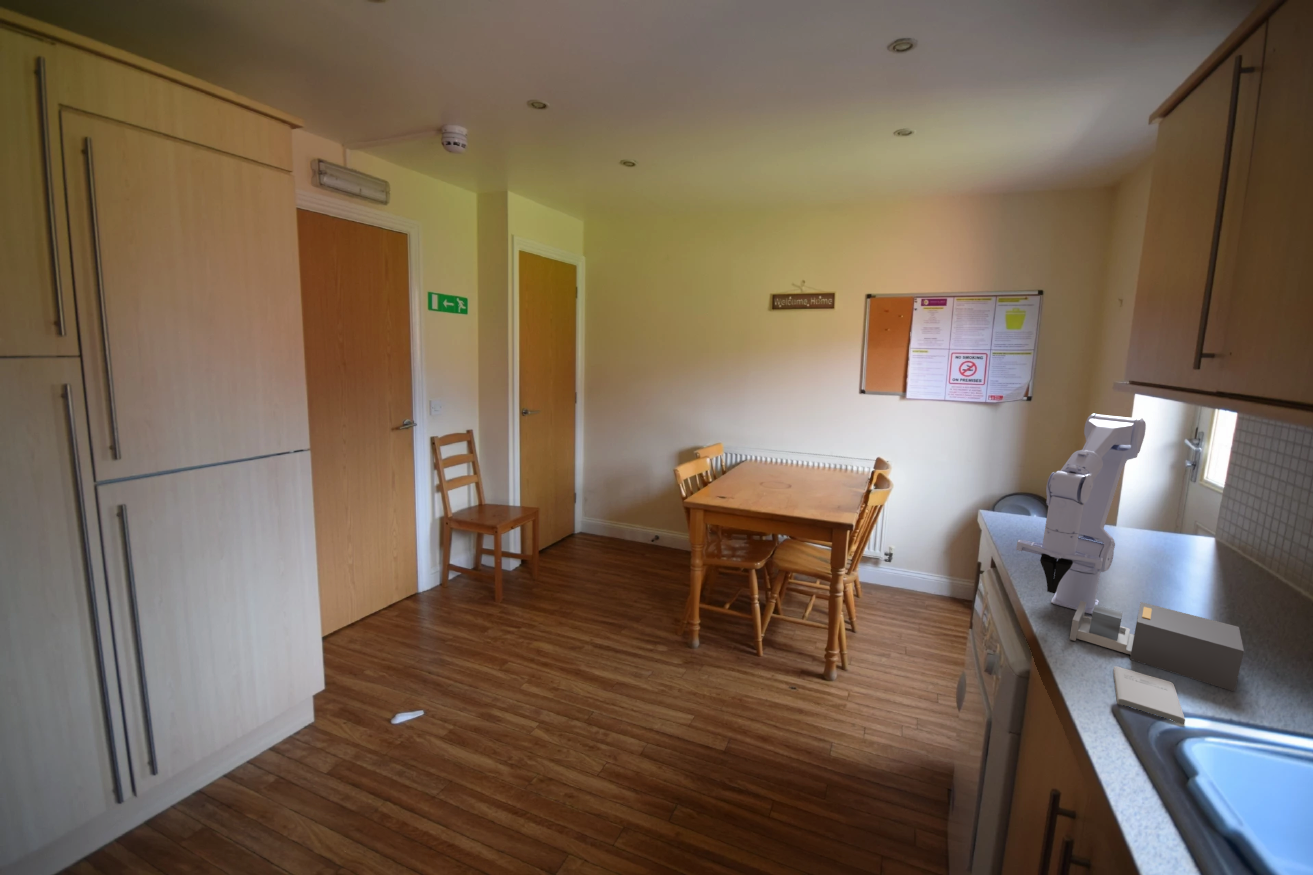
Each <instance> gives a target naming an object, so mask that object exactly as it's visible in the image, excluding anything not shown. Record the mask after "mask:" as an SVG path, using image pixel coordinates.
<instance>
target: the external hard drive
mask: <svg viewBox="0 0 1313 875" xmlns="http://www.w3.org/2000/svg"><path fill="white" fill-rule="evenodd" d="M1112 670H1113V680H1114V686H1115V694H1116V695H1115V696H1116V702H1117V705H1120V706H1123V705H1125V706H1124V707H1126V706H1130V707H1133V708H1136V709H1138V710H1137V711H1139V710H1142V711H1145V712H1149V713H1151V714H1150V715H1152V714H1156V715H1158V716H1162V717H1164V718H1163V719H1165V718H1167V719H1166V720H1168V719H1171V720H1173V721H1172V722H1174V721H1175V722H1174V723H1178V724H1181V725H1185V722H1186V718H1185V715H1184V713H1183V709H1182V705H1181V703H1180V699H1179V696H1178V694H1177V690H1176V687H1175V685H1174V684H1175V683H1173V682H1171V681H1169V680H1165V679H1162V678H1158V677H1154V676H1150V675H1148V674H1144V673H1141V672H1137V671H1134V670H1131V669H1127V668H1124V667H1120V666H1113V669H1112ZM1136 709H1135V710H1136ZM1142 711H1141V712H1142ZM1145 712H1144V713H1145ZM1149 713H1148V714H1149ZM1158 716H1157V717H1158ZM1171 720H1170V721H1171Z"/></svg>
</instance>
